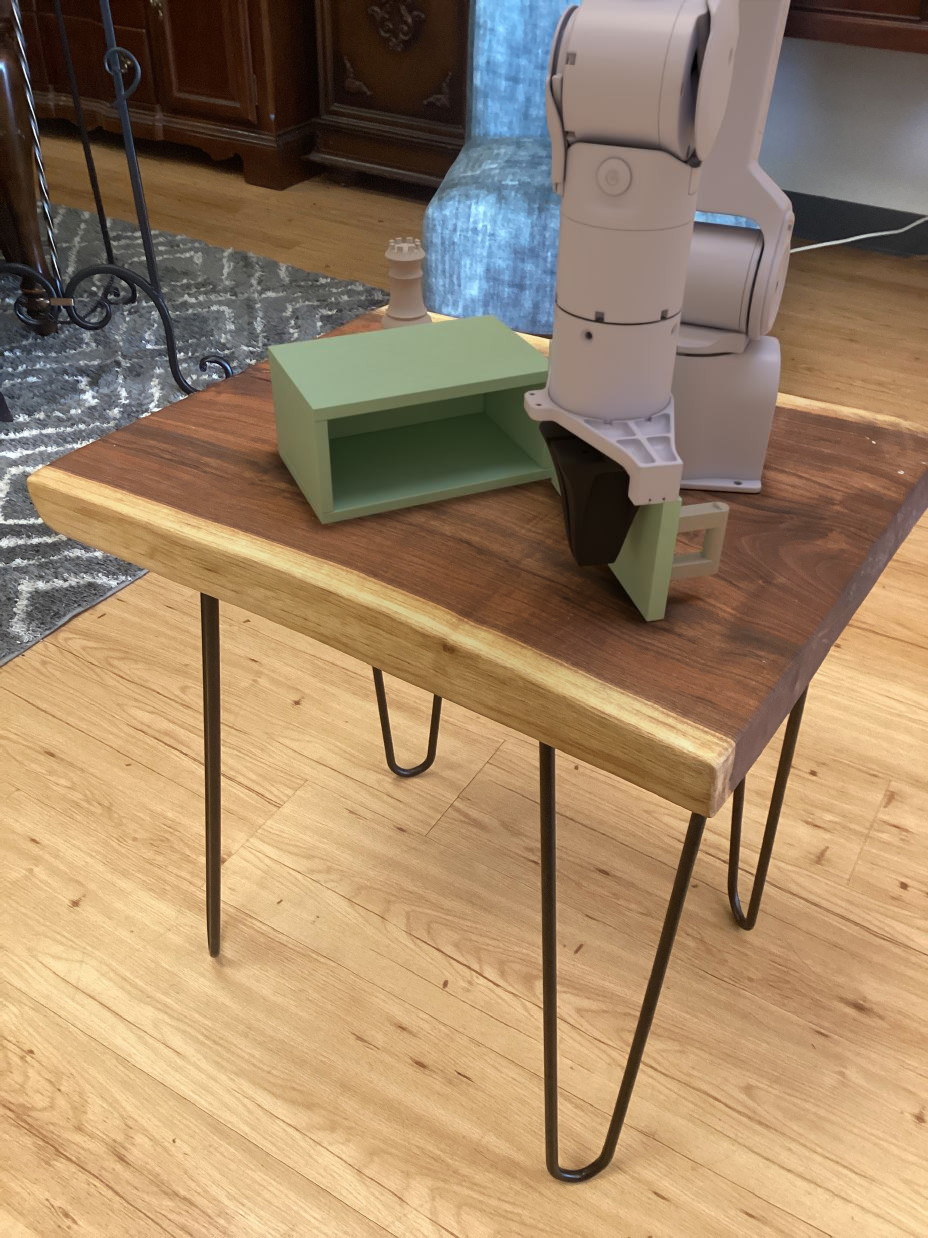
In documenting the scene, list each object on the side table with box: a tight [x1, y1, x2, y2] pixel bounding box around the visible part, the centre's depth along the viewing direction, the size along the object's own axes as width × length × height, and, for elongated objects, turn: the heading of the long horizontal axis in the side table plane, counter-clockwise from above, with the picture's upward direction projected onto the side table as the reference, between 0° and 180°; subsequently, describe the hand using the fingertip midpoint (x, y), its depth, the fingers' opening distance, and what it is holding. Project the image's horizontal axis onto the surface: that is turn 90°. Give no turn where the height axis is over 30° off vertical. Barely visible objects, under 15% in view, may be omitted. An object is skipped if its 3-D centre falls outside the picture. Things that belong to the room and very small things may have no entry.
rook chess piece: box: [380, 236, 433, 330], centre depth 85 cm, size 4×4×8 cm
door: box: [551, 464, 730, 622], centre depth 59 cm, size 4×16×7 cm, turn 15°
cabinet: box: [267, 313, 553, 525], centre depth 67 cm, size 10×16×8 cm, turn 113°
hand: (592, 556), depth 55 cm, fingers closed
